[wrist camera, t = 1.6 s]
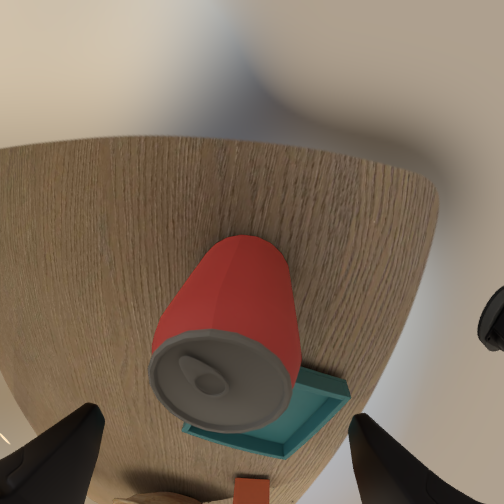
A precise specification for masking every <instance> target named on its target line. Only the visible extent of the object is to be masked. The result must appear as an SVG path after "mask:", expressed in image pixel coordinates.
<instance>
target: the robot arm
mask: <svg viewBox="0 0 504 504" xmlns="http://www.w3.org/2000/svg"><path fill="white" fill-rule="evenodd" d="M484 340H485V341H486V342H487V343H489V344H490V345H492V346H494V347H496V348H498V349H500V350H502V351H504V307H503V309H502V310H501V312H500V314H499V315H498V317H497V319H496V320H495V322H494V324H493V325H492V327H491V328H490V330H489V331H488V333H487V334H486V336H485V338H484ZM104 425H105V419H104V416H103V414H102V412H101V410H100V409H99V407H98V405H96V404H93V403H89V402H88V403H85V404H84V405H82V406H81V407H79V408H78V409H77V410H75V411H74V412H72V413H71V414H70V415H68V416H67V417H65V418H64V419H62V420H61V421H59V422H58V423H57V424H55V425H54V426H52V427H51V428H49V429H48V430H46V431H45V432H43V433H42V434H41V435H39V436H38V437H36V438H35V439H33V440H32V441H30V442H29V443H27V444H26V445H25V446H23V447H21V448H20V449H18V450H17V451H15V452H13V453H12V454H10V455H8V456H7V457H5V458H3V459H1V460H0V504H84V502H85V498H86V495H87V491H88V488H89V484H90V481H91V477H92V474H93V471H94V467H95V464H96V461H97V458H98V454H99V449H100V444H101V439H102V434H103V429H104ZM348 435H349V442H350V449H351V456H352V463H353V469H354V474H355V477H356V481H357V485H358V489H359V493H360V497H361V501H362V504H484V503H480V502H478V501H475V500H474V499H472V498H470V497H469V496H467V495H465V494H464V493H462V492H460V491H458V490H456V489H455V488H454V487H452V486H451V485H449V484H447V483H446V482H444V481H443V480H442V479H441V478H439V477H438V476H437V475H436V474H434V473H433V472H432V471H431V470H429V469H428V468H427V467H426V466H424V464H422V463H421V462H420V461H419V460H418V459H417V458H416V457H414V456H413V455H412V454H411V453H410V452H409V451H408V450H406V449H405V448H404V447H403V446H402V445H401V444H400V443H398V442H397V441H396V440H395V439H394V438H393V437H392V436H390V435H389V434H388V433H387V432H386V431H385V430H384V429H383V428H382V427H380V426H379V425H378V424H377V423H376V422H375V421H374V420H373V419H372V418H371V417H369V415H367V414H366V413H360V414H355V415H354V416H353V418H352V421H351V423H350V426H349V429H348Z"/></svg>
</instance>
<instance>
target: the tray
mask: <svg viewBox="0 0 504 504" xmlns="http://www.w3.org/2000/svg"><path fill="white" fill-rule="evenodd" d="M292 391H293V394H292V397H291V400H290V403H289V406H288V408H287V409H286V410H285V412H284V413H283V414H282V415H281V416H280V417H279V418H278V419H277V420H276V421H274V422H272V423H270V424H268V425H267V426H265V427H263V428H261V429H257V430H253V431H249V432H245V433H218V432H212V431H206V430H203V429H200V428H198V427H195V426H192V425H190V424H187V423H185V422H184V424H183V427H182V432H185V433H187V434H190V435H193V436H196V437H199V438H202V439H205V440H208V441H211V442H214V443H218V444H221V445H224V446H228V447H231V448H235V449H239V450H243V451H247V452H251V453H255V454H259V455H264V456H268V457H273V458H278V459H284V460H286V459H287V458H289V457H290V456H291V455H292V454H293V453H295V452H296V451H297V450H298V449H299V448H300V447H301V446H303V445H304V444H305V443H306V442H307V441H308V440H309V439H310V438H311V437H313V436H314V435H315V434H316V433H317V432H318V431H319V430H320V429H321V428H322V427H323V426H324V425H325V424H326V423H327V422H328V421H329V420H330V419H331V418H332V417H333V416H334V415H335V414H336V413H337V412H338V411H339V410H340V409H341V408H342V407H343V406H344V405H345V404H346V403H347V402H348V401H349V400H350V399H351V395H350V392H349V389H348V385H347V382H346V380H344V379H340V378H337V377H334V376H330V375H327V374H324V373H320V372H317V371H314V370H311V369H308V368H305V367H302V366H300V369H299V372H298V376H297V379H296V382H295V385H294V387H293V389H292Z"/></svg>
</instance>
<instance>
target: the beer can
mask: <svg viewBox="0 0 504 504" xmlns="http://www.w3.org/2000/svg"><path fill="white" fill-rule="evenodd" d="M301 360H302V355H301V347H300V339H299V332H298V325H297V318H296V312H295V305H294V298H293V292H292V286H291V279H290V273H289V267H288V264H287V263H286V261H285V259H284V257H283V255H282V253H281V252H280V251H279V250H278V249H276V248H275V247H274V246H273V245H272V244H271V243H269V242H267V241H265V240H263V239H261V238H259V237H255V236H248V235H238V236H232V237H227V238H225V239H224V240H222V241H220V242H218V243H216V244H215V245H214V246H213V247H212V248H211V249H210V250H209V251H208V252H207V253H206V254H205V256H204V257H203V259H202V260H201V261H200V263H199V264H198V265H197V267H196V268H195V270H194V271H193V272H192V274H191V275H190V276H189V278H188V279H187V281H186V282H185V283H184V285H183V286H182V288H181V289H180V290H179V292H178V293H177V295H176V296H175V297H174V299H173V300H172V302H171V303H170V305H169V306H168V307H167V309H166V310H165V312H164V313H163V315H162V316H161V317H160V320H159V323H158V326H157V329H156V332H155V335H154V339H153V343H152V357H151V360H150V363H149V366H148V376H149V384H150V386H151V388H152V390H153V392H154V394H155V395H156V397H157V399H158V400H159V401H160V402H161V403H162V404H163V405H164V407H165V408H166V409H167V410H168V411H169V412H170V413H172V414H173V415H175V416H176V417H178V418H179V419H181V420H182V421H184V422H185V423H187V424H190V425H192V426H195V427H198V428H200V429H203V430H206V431H212V432H218V433H245V432H249V431H253V430H257V429H261V428H263V427H265V426H267V425H268V424H270V423H272V422H274V421H276V420H277V419H278V418H279V417H280V416H281V415H282V414H283V413H284V412H285V410H286V409H287V408H288V406H289V403H290V400H291V397H292V394H293V391H292V389H293V387H294V385H295V382H296V379H297V376H298V372H299V369H300V365H301Z"/></svg>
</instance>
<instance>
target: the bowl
mask: <svg viewBox="0 0 504 504" xmlns="http://www.w3.org/2000/svg"><path fill="white" fill-rule="evenodd" d="M113 503H114V504H202V503H201V502H199V501H198V500H196V499H194V498H191V497H188V496H184V495H181V494H177V493H172V492H154V493H143V494H136V495H133V496H132V497H129V498H127V499H123V498H114V499H113Z"/></svg>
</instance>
